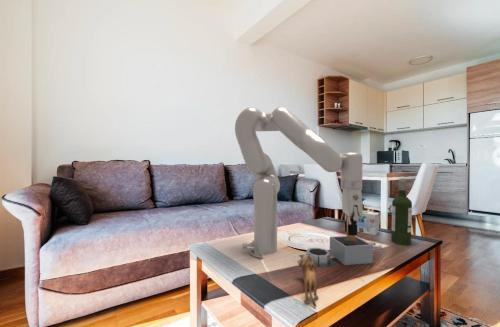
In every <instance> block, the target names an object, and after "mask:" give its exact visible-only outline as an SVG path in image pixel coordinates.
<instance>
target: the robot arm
mask: <svg viewBox="0 0 500 327" xmlns="http://www.w3.org/2000/svg"><path fill="white" fill-rule="evenodd" d="M257 132H280V133H281V134H283V135H284V136H285V138H287V139H288V140H289V142H291V143H293V145H294V146H295V147H297V148H298V149H300V150H301V151H303V152H304V153H305V154H306V155H308V157H309V158H311V159H312V160H313V161H314V162H315V163H316V164H317V165H319V166H320V167H321V168H322V169H323V170H324V171H325V172H327V173H335V172H338V171H340V190H342V195H341V196H342V197H341V199H342V200H341V205H342V206H341V208H342V212H343V213H344V232H345V233H347V215H348V216H349V224H348V235H355V236H358V232H357V224H358V223H357V221H358V220H359V218H358V216H359V217H362V216H363V211H364V209H363V194H362V190H363V154H362V153H360V152H342V153H339V152H337V151H336V150H335V148H333V147H331V145H329V144H328V143H327V142H326V141H324V140H323V138H321V137H320V136H319V135H317V133H316V132H315V131H313V130H312V129H311V128H310V127H309V126H307V125H306V124H305V123H304V122H303V121H302V120H301V119H299V117H297V116H296V115H295V114H293V113H292V111H291V110H289V109H288V108H286V107H284V106H278V107H277V108H275V109H273V111H269V112H266V111H265V112H262V111H260V109H257V108H255V107H252V106H251V107H247V108H245V109H243V110H241V112H240V113H239V115H238V116H237V118H236V119H235V124H234V134H235V138H236V140H237V144H238V145H239V149H240V151H241V152H240V153H241V155H242V158H243V160H244V163H245V167H246V168H247V171H248V172H249V173H250V174H252V175H254V178H255V179H256V181H255V182H254V185H253V188H252V189H253V190H252V195H253V196H252V198H253V217H254V218H253V219H254V220H253V240H252V241H251V242H249V243H242V249H246V251H249V252H250V255H251V256H253V257H254V258H257V259H262V260H263V259H264V258H263V256H262V255H272V254H275V253H277V251H278V193H279V192H280V188H281V182H280V179H279V177H278V174H277V171H276V169H275V167H274V163H273V161H272V159H271V157H270V156H269V155H268V154H266V153H265V152H264V150H263V147H262V145H261V142H260V139H259V137H258V136H257ZM352 215H354V216H352ZM351 218H353V219H351Z"/></svg>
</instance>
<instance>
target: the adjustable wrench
mask: <svg viewBox="0 0 500 327" xmlns="http://www.w3.org/2000/svg"><path fill="white" fill-rule="evenodd" d="M367 242H368V243H370V244H372V245H373V250H377V251H379V250H382V249H383V248H382V244H379V245H376V242H373V241H367Z"/></svg>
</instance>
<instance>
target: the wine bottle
mask: <svg viewBox="0 0 500 327" xmlns="http://www.w3.org/2000/svg"><path fill="white" fill-rule="evenodd" d="M406 181H407V179H406V178H402V177H400V178H399V179H398V194H397V196H396V197H395V198H393V200H392V201H391V240H390V241H391V242H392V243H393V244H396V245H397V244H398V245H402V246H409V245H411V244H412V221H413V220H412V218H413V217H412V216H413V215H412V214H413V211H412V210H413V202H412V200H411V199H409V197H408V196H407V190H406V189H407V188H406V187H407V186H406Z"/></svg>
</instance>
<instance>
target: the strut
mask: <svg viewBox="0 0 500 327" xmlns="http://www.w3.org/2000/svg"><path fill="white" fill-rule="evenodd" d="M352 216H354V215H352ZM351 219H353V218H351ZM348 224H349V216H348V215H347V232H346V236H347V238H344V245H345V246H353V245H358V240H357V239H355V236H356V235H348Z"/></svg>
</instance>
